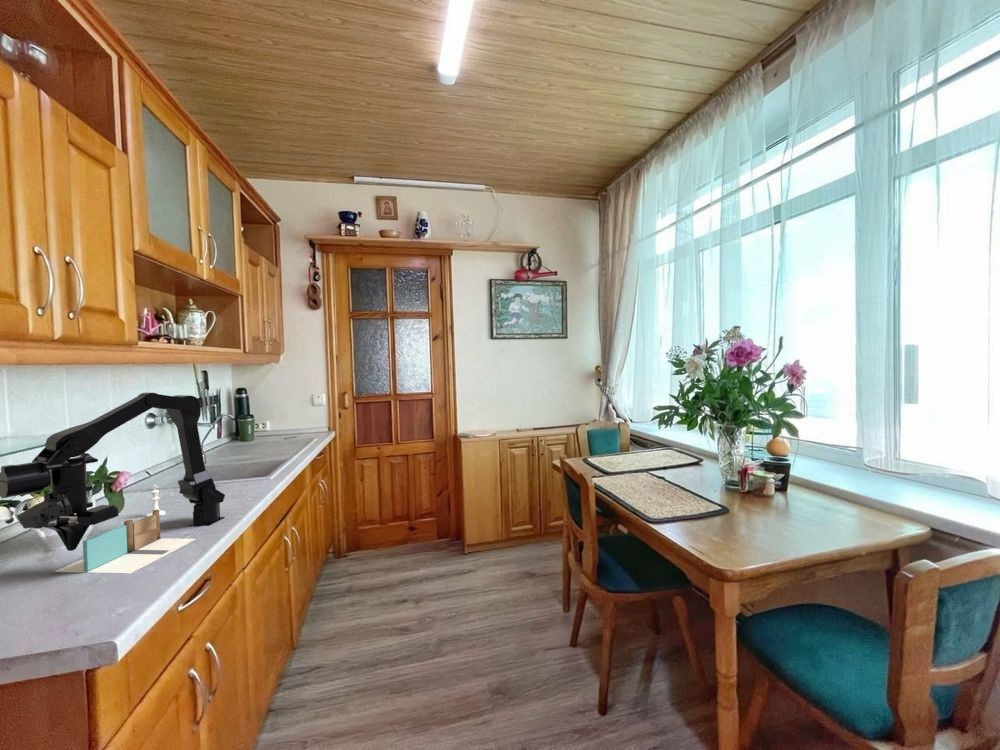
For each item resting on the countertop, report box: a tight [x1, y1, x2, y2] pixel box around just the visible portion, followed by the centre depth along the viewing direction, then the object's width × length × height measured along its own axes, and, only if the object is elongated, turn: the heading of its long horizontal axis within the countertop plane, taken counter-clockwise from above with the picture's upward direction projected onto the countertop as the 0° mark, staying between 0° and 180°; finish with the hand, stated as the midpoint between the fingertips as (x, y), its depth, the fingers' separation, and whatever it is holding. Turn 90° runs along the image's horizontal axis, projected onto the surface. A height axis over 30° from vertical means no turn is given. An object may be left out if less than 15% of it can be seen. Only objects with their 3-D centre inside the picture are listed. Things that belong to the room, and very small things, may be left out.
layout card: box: [54, 537, 196, 574], centre depth 100 cm, size 18×19×1 cm
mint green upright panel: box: [82, 524, 127, 571], centre depth 96 cm, size 9×1×7 cm, turn 176°
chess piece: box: [145, 484, 166, 517], centre depth 127 cm, size 5×5×10 cm
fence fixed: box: [123, 508, 161, 553], centre depth 105 cm, size 9×2×8 cm, turn 176°
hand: (72, 550), depth 93 cm, fingers closed
